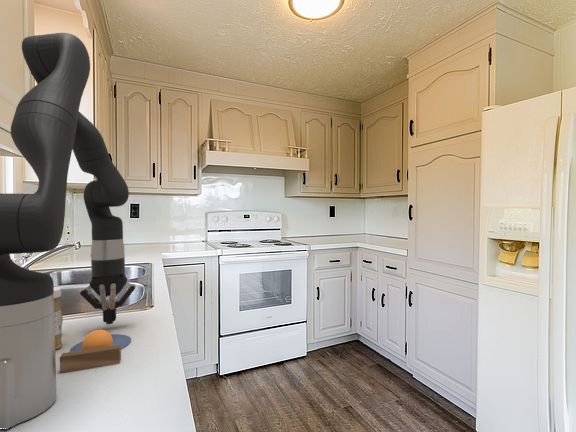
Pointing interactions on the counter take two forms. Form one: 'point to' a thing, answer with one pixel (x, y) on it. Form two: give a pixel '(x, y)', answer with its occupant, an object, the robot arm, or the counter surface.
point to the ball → (97, 340)
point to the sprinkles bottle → (57, 317)
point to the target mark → (117, 340)
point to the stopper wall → (90, 358)
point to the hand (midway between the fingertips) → (109, 323)
